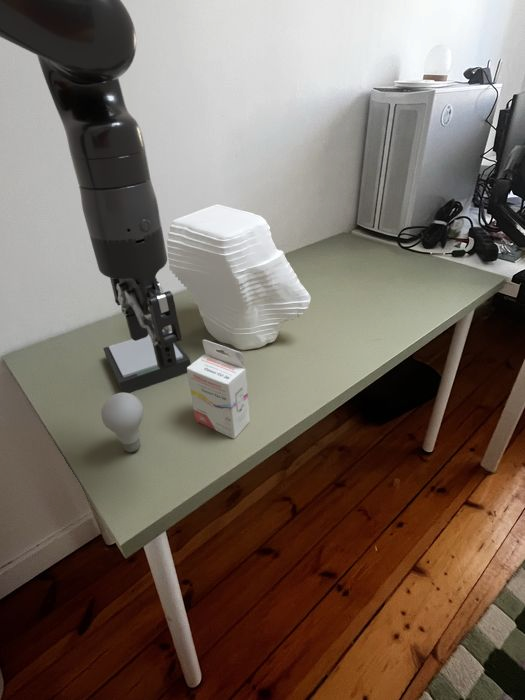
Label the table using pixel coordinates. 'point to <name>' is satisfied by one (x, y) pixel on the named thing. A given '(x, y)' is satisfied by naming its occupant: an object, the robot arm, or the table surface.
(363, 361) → the table surface
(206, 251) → the white layered head sculpture
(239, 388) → the ink cartridge box
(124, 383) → the scale
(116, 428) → the lightbulb
